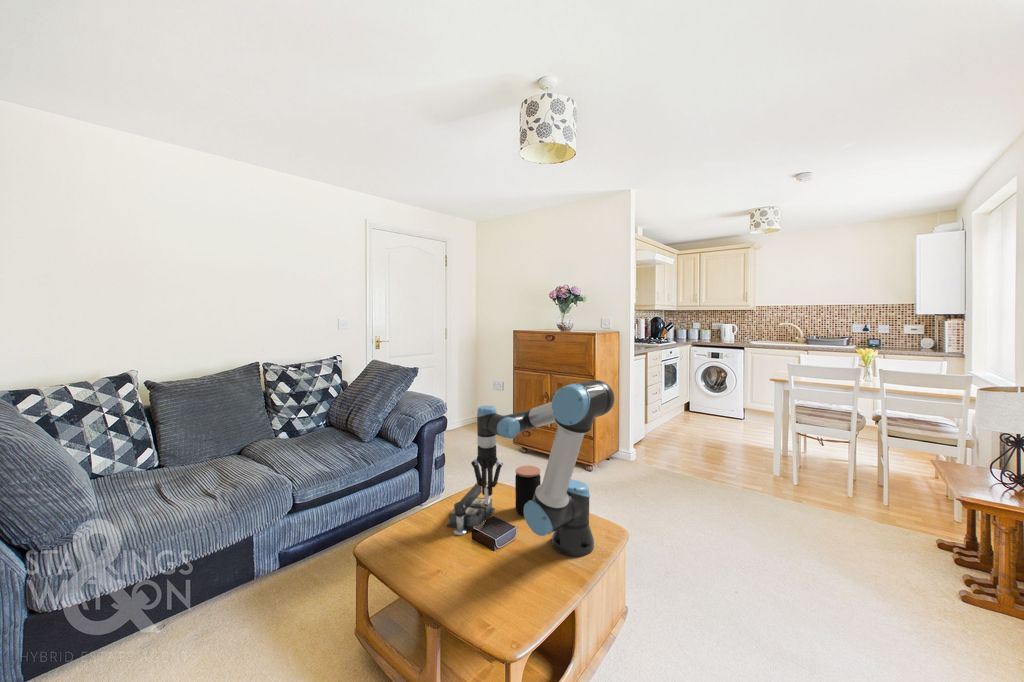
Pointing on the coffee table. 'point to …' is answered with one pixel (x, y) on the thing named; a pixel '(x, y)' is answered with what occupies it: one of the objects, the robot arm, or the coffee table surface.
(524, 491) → the coffee jar
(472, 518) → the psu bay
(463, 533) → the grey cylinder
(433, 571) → the coffee table surface
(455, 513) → the swing arm
